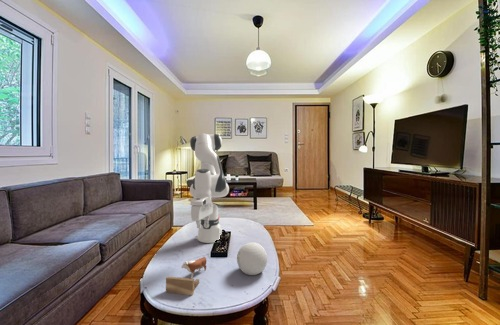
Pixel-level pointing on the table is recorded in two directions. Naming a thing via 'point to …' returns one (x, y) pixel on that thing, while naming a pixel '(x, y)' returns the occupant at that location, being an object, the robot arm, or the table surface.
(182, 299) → the table surface
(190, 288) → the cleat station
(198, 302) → the table surface
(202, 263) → the bull figurine
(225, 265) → the table surface
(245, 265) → the decorative object
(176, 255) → the table surface
